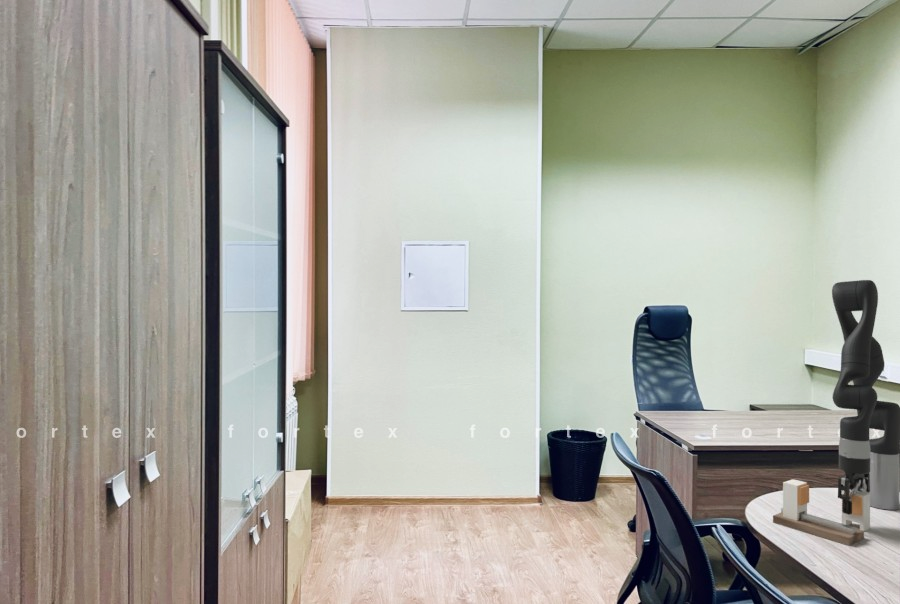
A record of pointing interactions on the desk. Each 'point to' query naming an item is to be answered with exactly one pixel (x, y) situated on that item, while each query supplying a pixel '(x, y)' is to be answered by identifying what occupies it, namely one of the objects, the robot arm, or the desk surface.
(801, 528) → the rail
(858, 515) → the white block with pad
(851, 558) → the desk surface
